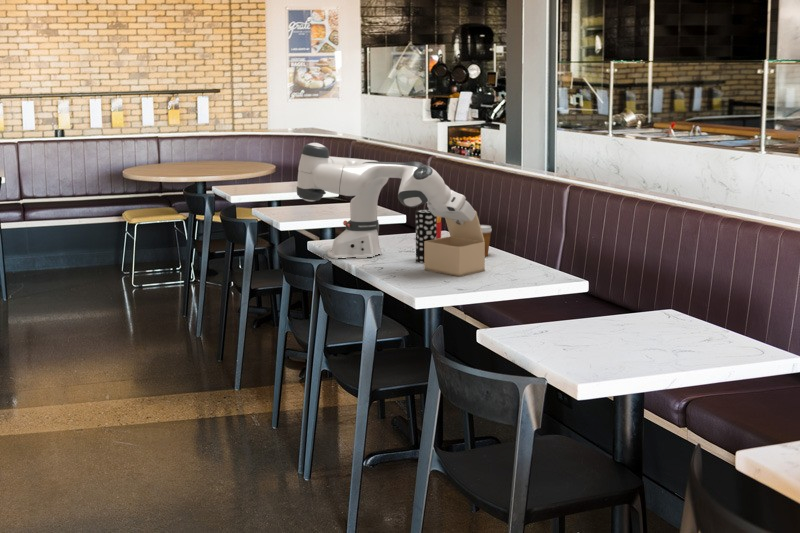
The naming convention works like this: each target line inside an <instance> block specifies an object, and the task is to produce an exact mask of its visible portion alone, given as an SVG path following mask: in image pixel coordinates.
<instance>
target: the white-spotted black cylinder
mask: <svg viewBox="0 0 800 533" xmlns="http://www.w3.org/2000/svg"><path fill="white" fill-rule="evenodd" d="M434 239H437V216H434V215H433V214H432V213H431V212H430V210H429V209H417V210H415V262H416V263H419V264H424V241H428V240H434Z"/></svg>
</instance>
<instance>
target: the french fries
mask: <svg viewBox="0 0 800 533" xmlns="http://www.w3.org/2000/svg"><path fill="white" fill-rule="evenodd" d="M439 238H442V217H437V239H439Z"/></svg>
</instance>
